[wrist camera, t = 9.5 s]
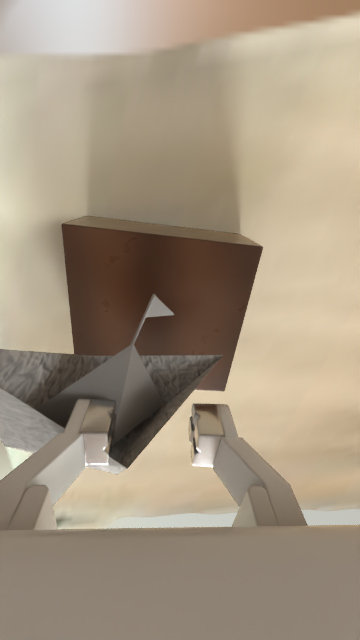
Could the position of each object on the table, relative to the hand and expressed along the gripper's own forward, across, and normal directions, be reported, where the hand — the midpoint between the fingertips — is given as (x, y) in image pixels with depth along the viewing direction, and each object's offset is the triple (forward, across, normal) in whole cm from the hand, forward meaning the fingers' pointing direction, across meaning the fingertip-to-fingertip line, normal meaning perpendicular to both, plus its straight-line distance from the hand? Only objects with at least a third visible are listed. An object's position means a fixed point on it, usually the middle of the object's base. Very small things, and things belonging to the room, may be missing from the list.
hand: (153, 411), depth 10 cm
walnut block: (+13, 0, 0) cm, 13 cm away
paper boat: (+3, +4, 0) cm, 5 cm away
